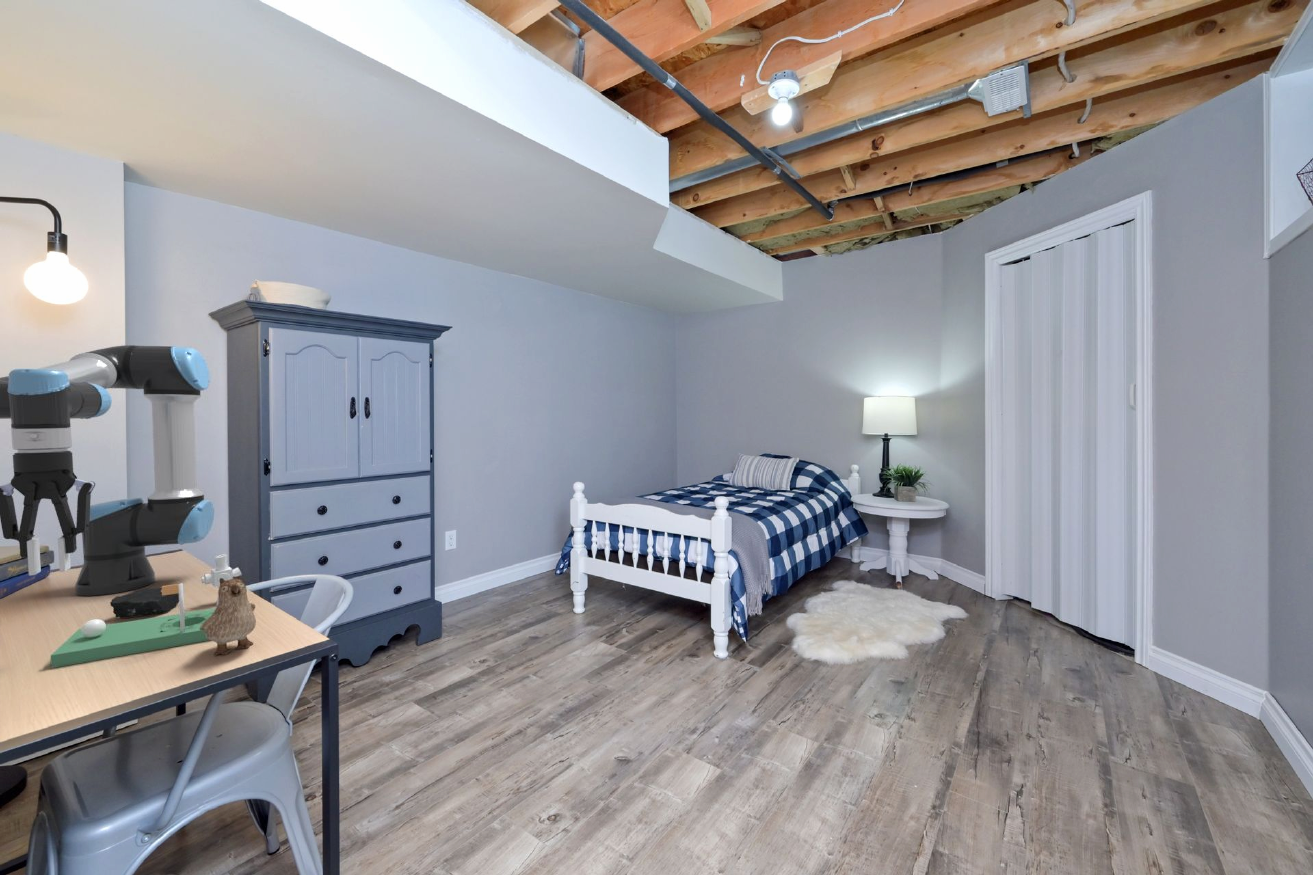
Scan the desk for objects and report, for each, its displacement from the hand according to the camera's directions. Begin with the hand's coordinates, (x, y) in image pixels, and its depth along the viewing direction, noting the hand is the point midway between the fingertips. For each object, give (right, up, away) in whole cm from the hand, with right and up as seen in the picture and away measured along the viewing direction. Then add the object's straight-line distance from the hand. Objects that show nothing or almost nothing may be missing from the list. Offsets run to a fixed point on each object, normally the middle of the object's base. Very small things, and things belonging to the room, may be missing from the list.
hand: (50, 571), depth 104 cm
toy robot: (+10, -15, +29) cm, 35 cm away
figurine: (+32, -17, +3) cm, 36 cm away
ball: (+5, -12, +4) cm, 14 cm away
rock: (-2, -16, +22) cm, 27 cm away
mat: (+11, -16, +8) cm, 21 cm away
